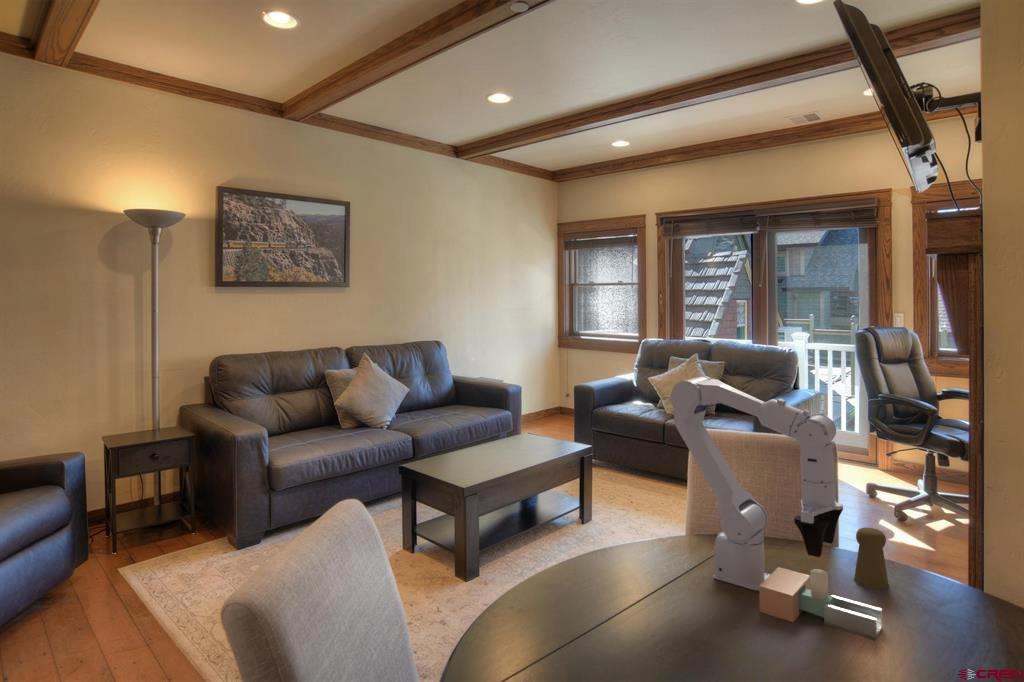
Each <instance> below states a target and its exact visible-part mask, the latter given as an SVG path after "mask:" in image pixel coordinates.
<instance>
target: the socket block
mask: <svg viewBox="0 0 1024 682" xmlns="http://www.w3.org/2000/svg"><path fill="white" fill-rule="evenodd" d="M802 588H805V589H808V590H811V574H806V573H802V572H798V571H796V570H795V571H794V570H791V569H788V568H784V567H779V566H778V567H777V568H776V569H774V571H773V572H772V573H770V576H769V577H768V578H767V579H766V580H765V581H764V582H763V583H762V584H761V585H760V586H759V591H758V592H759V593H758V594H759V598H758V599H759V612H760V613H763V614H767V615H770V616H773V617H774V618H779V619H781V620H785V621H788V622H790V623H794V622H796V620H797V618H799V616H800V615H801V613H802V612H803V611H804V610H801V609H799V591H800V590H801V589H802Z"/></svg>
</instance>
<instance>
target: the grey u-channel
mask: <svg viewBox="0 0 1024 682" xmlns="http://www.w3.org/2000/svg"><path fill="white" fill-rule="evenodd" d="M831 596H833V597H834V606H832V605H829V604H825V605H824V616H823V617H824V619H823V620H824V621H823V622H824V624H823V625H825V626H828V627H830V628H834V629H837V630H840V631H843V632H847V633H850V634H853V635H857V636H859V637H863V638H866V639H869V640H873V641H877V639H878V637H879V635H880V633H881V631H882V630H883V608H881V607H877V606H874V605H870V604H866V603H863V602H860V601H856V600H852V599H848V598H845V597H841V596H838V595H834V594H832V595H831Z"/></svg>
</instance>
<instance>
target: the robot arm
mask: <svg viewBox="0 0 1024 682" xmlns="http://www.w3.org/2000/svg"><path fill="white" fill-rule="evenodd" d="M669 395H670V396H669V398H668V399H669V402H670V403H671V405H672V407H673V408H672V409H673V418H674V424H675V427H676V430H677V431H678V433H679V434H680V436H681V438H682V440H683V442H684V444H685V445H686V447H687V448H688V450H689V452H690V454H691V456H692V457H693V459H694V461H695V462H696V464H697V466H698V468H699V469H700V471H701V473H702V475H703V476H704V478H705V480H706V481H707V483H708V485H709V487H710V489H711V490H712V492H713V494H714V495H715V497H716V500H717V506H716V513H717V515H718V517H719V519H720V523H721V524H720V525H721V529H722V532H719V533H718V534H717V536H716V538H715V540H714V550H713V551H714V552H713V553H714V558H713V559H714V574H713V578H714V579H715V580H718V581H722V582H726V583H729V584H732V585H734V586H738V587H742V588H746V589H747V590H748V589H749V590H752V591H755V592H759V586H760V585H761V584H762V583H763V582H764V581H765V580H766V579H767V578H768V577H769V576H770V575H771V573H766V572H765V538H764V534H763V529H764V528H765V527H766V526H767V525H768V521H769V516H768V513H767V510H766V508H764V506H763V505H762V504H760V503H759V502H758V501H757V500H755V498H754V497H753V495H752V493H750V492H748V491H747V490H745V489H744V488H743V487H741V486H740V484H739V482H738V480H737V478H736V476H735V475H734V474H733V472H732V470H731V469H730V467H729V465H728V463H727V462H726V460H725V459H724V457H723V455H722V454H721V452H720V450H719V448H718V447H717V445H716V444H715V442H714V440H713V438H712V436H711V435H710V433H709V431H708V430H707V428H706V426H705V425H704V422H703V421H704V418H705V415H706V412H707V409H708V408H709V407H710V405H714V404H715V405H716V404H722V405H725V406H728V407H730V408H734V409H736V410H738V411H741V412H743V413H746V414H749V415H752V416H754V417H757V419H758V421H759V422H760V424H761V426H763V427H765V428H768V429H769V430H773V431H774V432H777V433H780V434H781V435H784V436H786V437H788V438H790V439H795V441H796V442H797V444H798V445H799V451H800V452H799V453H800V454H799V458H800V460H799V461H800V483H801V484H800V486H801V500H800V506H801V511H800V515H796V516H795V517H794V520H793V521H794V524H795V526H796V527H797V529H798V530H799V533H800V534H801V536H802V541H803V543H804V547H805V550H806V553H807V555H808V556H812V557H817V558H820V557H821V556H822V553H823V545H824V544H823V543H825V544H826V543H827V544H830V545H832V544H833V542H834V539H835V535H836V534H835V533H836V531H837V530H836V529H837V524H838V522H839V518H840V516H841V514H842V512H843V510H844V505H843V504H842V503H841V502H837V499H836V480H835V460H834V458H835V456H834V448H833V447H834V446H833V442H832V441H833V440H834V438H835V437H836V435H837V426H836V424H835V422H834V421H833V420H832V419H831V418H829V417H828V416H826V415H825V414H824V413H812V414H811V411H810V410H808V409H804V410H802V409H800V408H797V407H795V406H792V405H790V404H787V400H786V399H783V398H779V399H775V398H773V399H769V400H767V401H763V400H761V399H759V398H757V397H754V395H753V396H752V395H750V394H748V393H746V392H744V391H742V390H740V389H737V388H735V387H732V386H730V385H729V384H727V383H724V382H722V381H721V380H719V379H717V378H711V377H709V376H707V375H698V376H695V377H692V378H688V379H683V380H680V381H677V382H676V383H675V384H674V385H673V387H672V390H671V392H670V394H669Z"/></svg>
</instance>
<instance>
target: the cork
mask: <svg viewBox="0 0 1024 682" xmlns="http://www.w3.org/2000/svg"><path fill="white" fill-rule="evenodd" d="M855 539H856V542H857V543H858V544H859V545H858V550H857V551H858V552H857V558H856V565H855V571H854V579H853V581H854V582H855V583H856V584H857V585H859V586H861V587H864V588H867V589H871V590H885V589H887V588H889V579H888V572H887V567H886V561H885V560H886V559H885V554H884V547H885V546H886V543H887V538H886V535H885V534H884V532H883V531H881V530H880V529H877V528H874V527H861V528H858V530H857V531H856V533H855Z"/></svg>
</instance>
